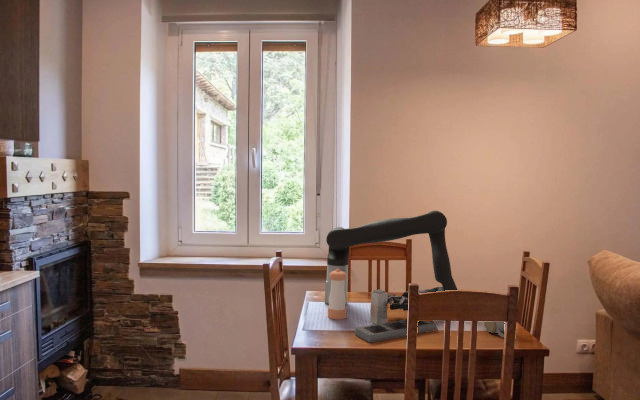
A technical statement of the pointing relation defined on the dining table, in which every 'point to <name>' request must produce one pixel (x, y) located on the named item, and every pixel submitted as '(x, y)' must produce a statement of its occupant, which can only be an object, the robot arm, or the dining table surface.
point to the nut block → (378, 307)
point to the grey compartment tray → (390, 330)
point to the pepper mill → (337, 295)
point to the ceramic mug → (495, 327)
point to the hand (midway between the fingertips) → (383, 304)
